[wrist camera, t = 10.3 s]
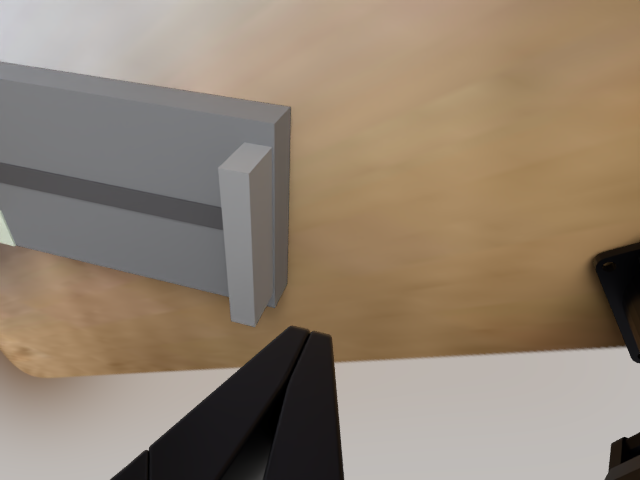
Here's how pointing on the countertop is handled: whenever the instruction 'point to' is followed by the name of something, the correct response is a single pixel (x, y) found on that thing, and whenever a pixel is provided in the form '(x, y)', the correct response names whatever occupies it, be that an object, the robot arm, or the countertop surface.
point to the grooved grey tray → (148, 182)
